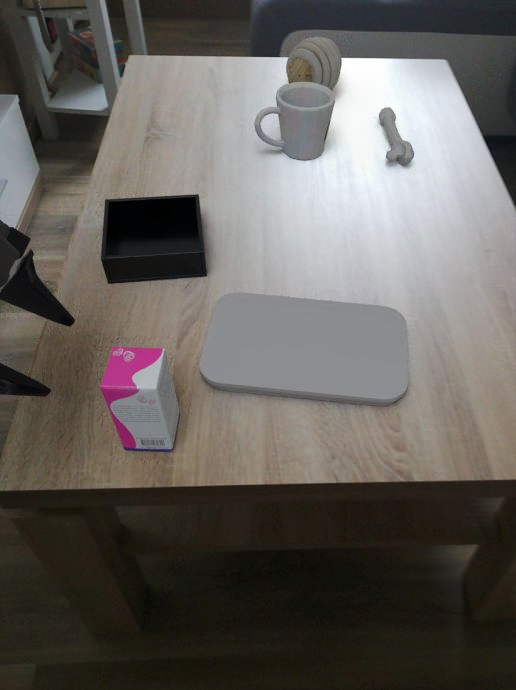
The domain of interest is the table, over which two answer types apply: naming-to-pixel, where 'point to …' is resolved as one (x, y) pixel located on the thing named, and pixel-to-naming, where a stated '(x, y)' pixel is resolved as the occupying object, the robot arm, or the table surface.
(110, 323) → the table surface
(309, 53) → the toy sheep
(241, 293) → the tablet
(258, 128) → the mug
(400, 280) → the table surface
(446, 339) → the table surface
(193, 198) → the black open box
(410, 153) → the bone
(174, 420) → the supplement box
